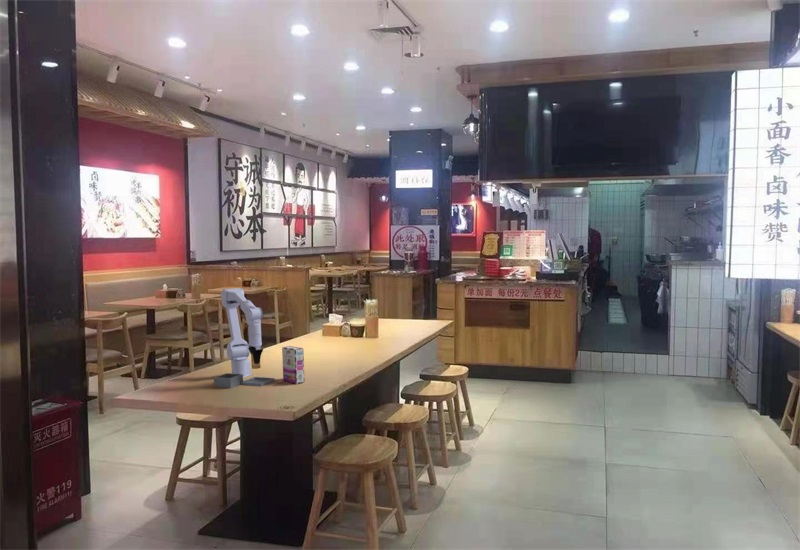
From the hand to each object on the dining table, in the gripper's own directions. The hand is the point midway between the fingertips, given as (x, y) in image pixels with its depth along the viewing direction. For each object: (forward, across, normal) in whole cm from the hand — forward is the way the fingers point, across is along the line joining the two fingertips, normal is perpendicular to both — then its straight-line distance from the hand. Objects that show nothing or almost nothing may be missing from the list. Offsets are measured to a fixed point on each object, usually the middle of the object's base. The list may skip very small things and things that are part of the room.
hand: (256, 362), depth 286 cm
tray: (+10, 0, 0) cm, 10 cm away
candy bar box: (+10, +4, +16) cm, 20 cm away
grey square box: (+10, -2, -13) cm, 16 cm away
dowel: (+2, 0, 0) cm, 2 cm away
